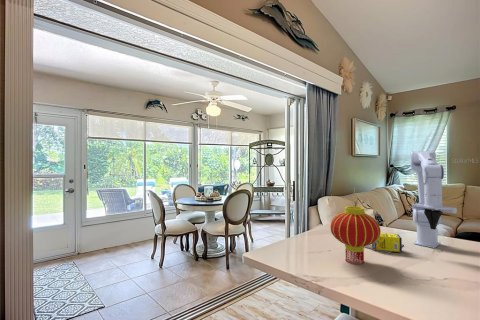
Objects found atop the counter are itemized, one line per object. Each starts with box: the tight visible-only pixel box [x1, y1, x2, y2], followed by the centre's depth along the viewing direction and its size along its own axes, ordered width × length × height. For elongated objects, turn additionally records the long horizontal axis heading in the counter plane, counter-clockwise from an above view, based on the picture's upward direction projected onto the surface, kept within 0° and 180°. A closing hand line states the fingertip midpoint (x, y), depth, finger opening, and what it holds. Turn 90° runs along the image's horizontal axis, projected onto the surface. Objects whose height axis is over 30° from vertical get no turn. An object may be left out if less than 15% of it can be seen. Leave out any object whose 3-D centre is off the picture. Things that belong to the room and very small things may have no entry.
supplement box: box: [371, 232, 403, 253], centre depth 112 cm, size 6×6×11 cm
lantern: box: [329, 188, 382, 266], centre depth 99 cm, size 17×17×30 cm
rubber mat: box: [364, 244, 405, 255], centre depth 118 cm, size 16×15×1 cm
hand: (433, 228), depth 106 cm, fingers closed
